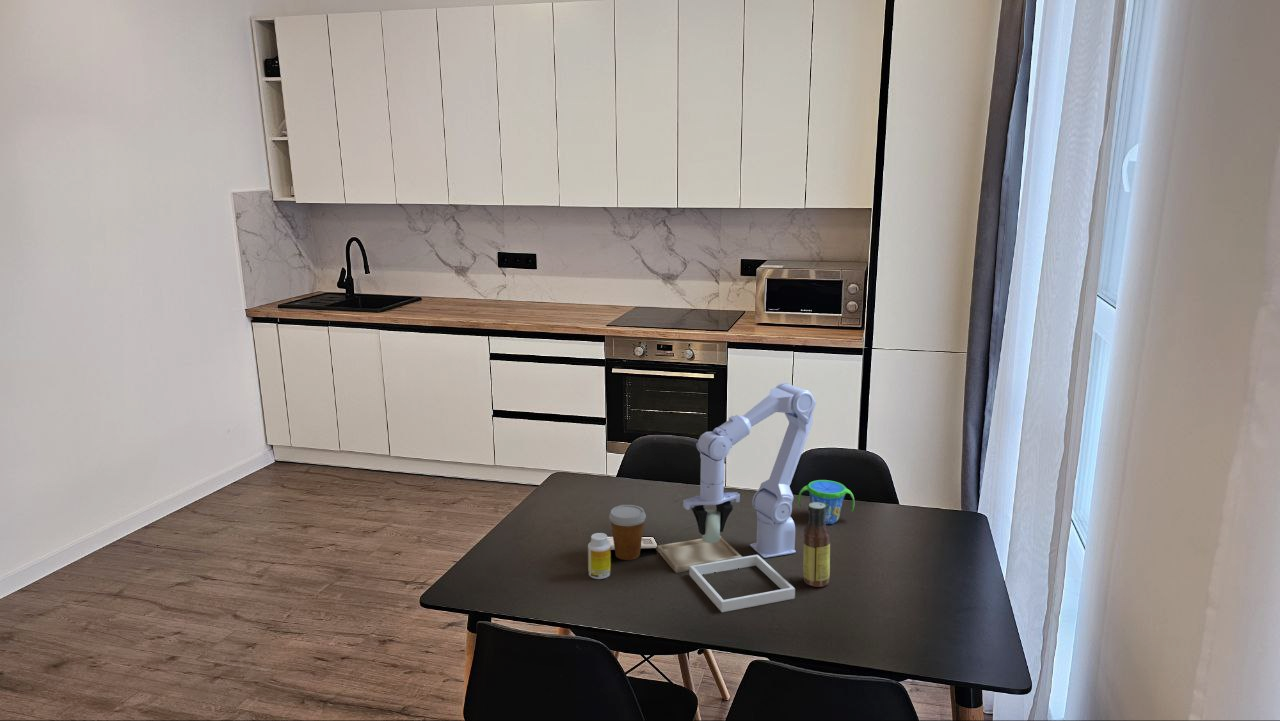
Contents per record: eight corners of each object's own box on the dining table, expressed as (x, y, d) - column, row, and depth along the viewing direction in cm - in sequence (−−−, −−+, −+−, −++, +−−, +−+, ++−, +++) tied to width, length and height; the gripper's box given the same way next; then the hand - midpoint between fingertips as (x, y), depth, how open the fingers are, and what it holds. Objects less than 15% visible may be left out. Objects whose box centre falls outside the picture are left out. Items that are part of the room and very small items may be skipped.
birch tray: (719, 540, 223) (720, 535, 222) (741, 561, 211) (741, 556, 210) (657, 550, 217) (657, 545, 217) (675, 573, 205) (676, 567, 205)
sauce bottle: (830, 578, 202) (834, 502, 198) (827, 590, 197) (831, 511, 192) (803, 574, 204) (807, 498, 200) (799, 585, 199) (803, 508, 194)
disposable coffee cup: (642, 564, 209) (642, 520, 207) (605, 561, 211) (604, 517, 208) (649, 548, 218) (649, 505, 216) (613, 545, 220) (613, 502, 217)
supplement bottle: (614, 576, 203) (614, 538, 201) (594, 582, 200) (594, 542, 198) (604, 567, 208) (604, 529, 206) (584, 572, 205) (583, 534, 203)
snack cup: (853, 515, 239) (856, 482, 237) (852, 530, 229) (855, 496, 227) (798, 509, 243) (800, 477, 241) (795, 524, 233) (797, 490, 231)
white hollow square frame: (757, 563, 210) (757, 554, 209) (794, 598, 193) (795, 588, 192) (689, 575, 204) (689, 565, 203) (721, 612, 187) (722, 602, 186)
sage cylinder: (717, 534, 210) (718, 509, 209) (721, 542, 206) (722, 516, 204) (700, 535, 210) (701, 509, 208) (704, 543, 205) (704, 517, 204)
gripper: (731, 471, 210) (730, 521, 213) (678, 478, 206) (678, 529, 209) (744, 481, 204) (742, 532, 207) (690, 488, 199) (689, 541, 202)
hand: (711, 531), depth 207 cm, fingers closed on sage cylinder, 4 cm apart
